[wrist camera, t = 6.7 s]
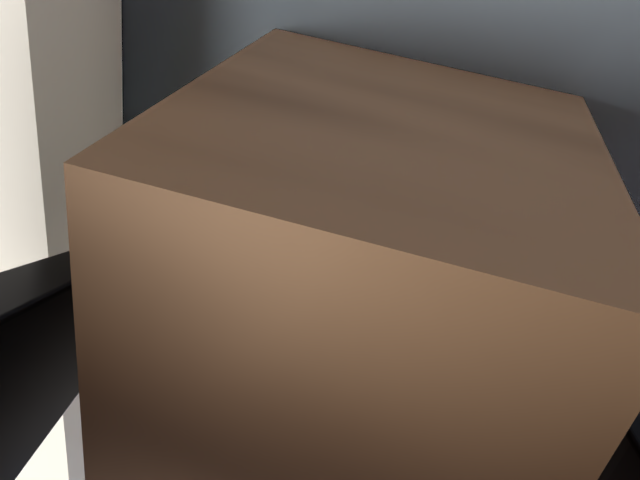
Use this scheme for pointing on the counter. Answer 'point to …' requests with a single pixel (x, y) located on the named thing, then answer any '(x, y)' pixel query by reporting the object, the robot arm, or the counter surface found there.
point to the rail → (52, 149)
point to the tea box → (353, 277)
